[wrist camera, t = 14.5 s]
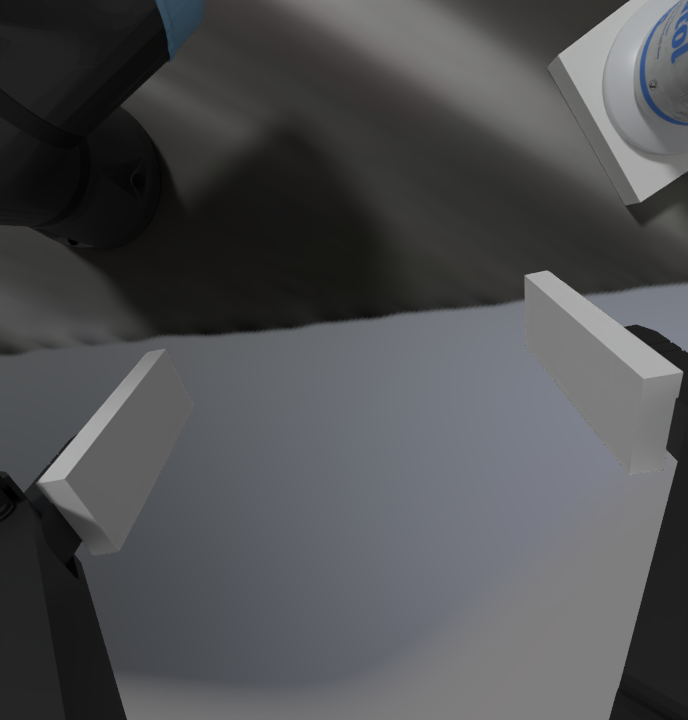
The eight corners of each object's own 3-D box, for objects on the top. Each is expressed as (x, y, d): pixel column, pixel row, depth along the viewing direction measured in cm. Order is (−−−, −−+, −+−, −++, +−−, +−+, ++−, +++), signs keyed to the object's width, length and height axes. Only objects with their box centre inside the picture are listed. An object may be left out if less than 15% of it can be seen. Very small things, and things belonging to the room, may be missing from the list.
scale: (546, 67, 39) (563, 49, 36) (704, -53, 36) (738, -85, 33) (626, 208, 42) (648, 203, 38) (780, 105, 39) (819, 91, 35)
